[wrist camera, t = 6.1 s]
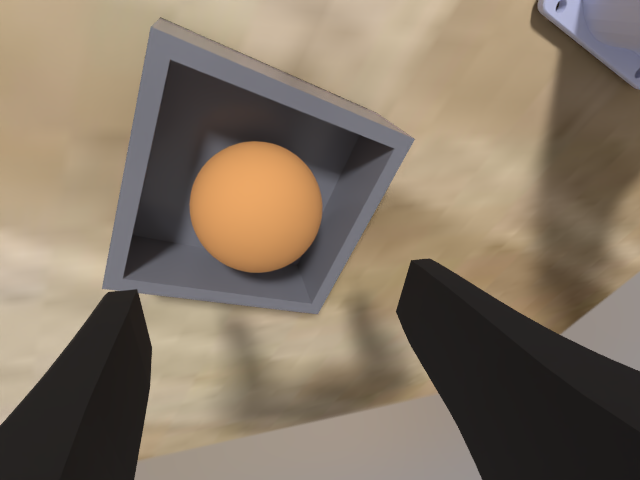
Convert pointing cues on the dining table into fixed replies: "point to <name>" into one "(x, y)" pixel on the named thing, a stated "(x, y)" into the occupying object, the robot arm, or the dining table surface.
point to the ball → (256, 207)
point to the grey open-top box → (226, 130)
